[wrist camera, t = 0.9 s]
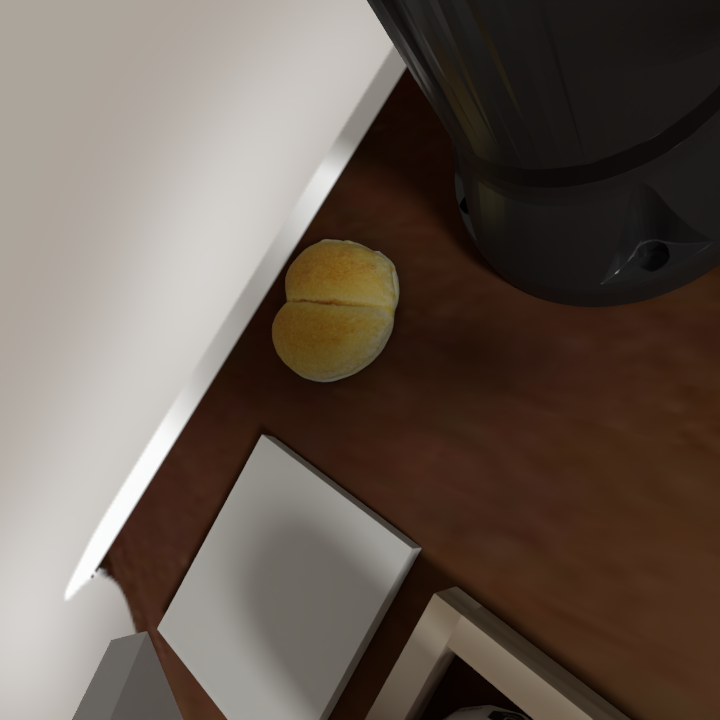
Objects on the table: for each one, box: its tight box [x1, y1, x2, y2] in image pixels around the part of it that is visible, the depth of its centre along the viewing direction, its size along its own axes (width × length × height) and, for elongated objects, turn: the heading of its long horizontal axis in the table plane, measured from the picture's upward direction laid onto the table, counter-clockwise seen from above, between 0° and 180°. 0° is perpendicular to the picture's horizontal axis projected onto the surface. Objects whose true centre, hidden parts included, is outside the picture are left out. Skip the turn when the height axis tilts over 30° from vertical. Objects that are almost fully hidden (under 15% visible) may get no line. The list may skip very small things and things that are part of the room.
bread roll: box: [272, 239, 399, 382], centre depth 33 cm, size 8×9×4 cm
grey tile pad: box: [157, 434, 421, 720], centre depth 31 cm, size 14×12×1 cm
